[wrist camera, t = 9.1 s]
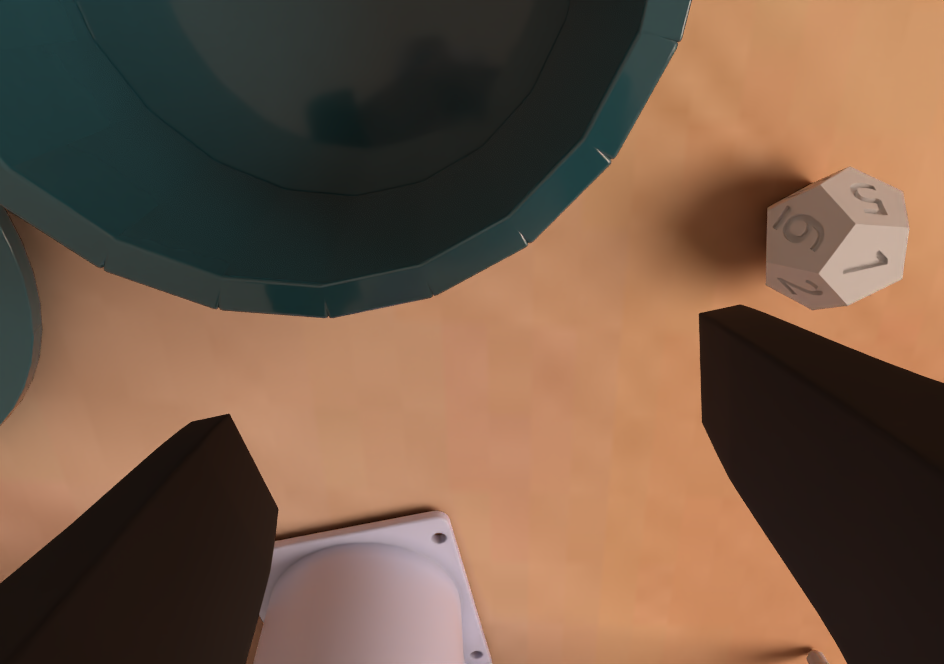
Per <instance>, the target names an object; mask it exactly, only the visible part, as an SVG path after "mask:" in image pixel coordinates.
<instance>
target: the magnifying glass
mask: <svg viewBox="0 0 944 664" xmlns="http://www.w3.org/2000/svg"><path fill="white" fill-rule="evenodd" d="M807 661H808V663H809V664H829V663H828V661H827V660H826V658H825V656H824V655H823V653H822V652H818V651H816V650H811V651H810V652H809V653H808V656H807Z"/></svg>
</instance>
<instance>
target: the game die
mask: <svg viewBox="0 0 944 664" xmlns="http://www.w3.org/2000/svg"><path fill="white" fill-rule="evenodd" d="M908 234H909V223H908V217H907V211H906V206H905V200H904V194H903V191H901V190H899V189H897V188H895V187H893V186H891V185H888V184H886V183H884V182H882V181H880V180H878V179H876V178H874V177H871V176H869V175H867V174H865V173H863V172H861V171H859V170H857V169H854V168H852V167H847V168H845V169H843V170H841V171H838V172H836V173H834V174H832V175H829V176H827V177H825V178H823V179H820V180H818V181H816V182H814V183H812V184H810V185H808V186H806V187H804V188H803V189H801V190H799V191H797V192H795V193H793V194H791V195H790V196H788V197H786V198H784V199H782V200H780V201H778V202H776V203H775V204H773V205H771V206H769V207H768V208H767V247H766V285H767V286H769V287H771V288H772V289H774V290H776V291H778V292H780V293H782V294H783V295H785V296H787V297H789V298H791V299H793V300H795V301H796V302H798V303H800V304H802V305H804V306H806V307H807V308H809V309H811V310H817V309H825V308H833V307H840V306H848V305H850V304H852V303H854V302H856V301H858V300H860V299H862V298H864V297H866V296H869V295H871V294H873V293H875V292H877V291H879V290H881V289H883V288H885V287H887V286H889V285H891V284H893V283H895V282H897V281H899V280H901V279H902V276H903V269H904V262H905V255H906V248H907V241H908Z"/></svg>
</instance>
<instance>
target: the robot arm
mask: <svg viewBox="0 0 944 664" xmlns="http://www.w3.org/2000/svg"><path fill="white" fill-rule="evenodd" d="M699 334H700V368H701V403H702V423H703V425H704V427H705V430H706V432H707V434H708V436H709V438H710V440H711V442H712V444H713V447H714V449H715V451H716V453H717V455H718V457H719V459H720V461H721V463H722V465H723V467H724V469H725V471H726V473H727V475H728V477H729V479H730V480H731V482H732V484H733V485H734V487H735V488H736V490H737V491H738V493H739V495H740V496H741V498H742V499H743V501H744V502H745V504H746V505H747V507H748V508H749V510H750V511H751V513H752V514H753V516H754V518H755V519H756V521H757V522H758V524H759V525H760V527H761V528H762V530H763V531H764V533H765V534H766V536H767V537H768V539H769V540H770V542H771V543H772V545H773V546H774V548H775V549H776V551H777V552H778V554H779V555H780V557H781V558H782V560H783V561H784V563H785V564H786V566H787V567H788V569H789V570H790V572H791V573H792V575H793V576H794V578H795V579H796V581H797V582H798V584H799V585H800V587H801V588H802V590H803V591H804V593H805V594H806V596H807V597H808V599H809V600H810V602H811V604H812V605H813V607H814V608H815V610H816V611H817V613H818V614H819V616H820V617H821V619H822V621H823V622H824V624H825V626H826V627H827V629H828V631H829V632H830V634H831V636H832V637H833V639H834V640H835V642H836V644H837V645H838V647H839V649H840V651H841V653H842V655H843V656H844V658H845V660H846V662H847V664H944V383H942V382H939V381H936V380H933V379H930V378H927V377H924V376H921V375H919V374H916V373H913V372H911V371H908V370H905V369H903V368H900V367H897V366H895V365H892V364H889V363H887V362H884V361H882V360H879V359H876V358H874V357H871V356H869V355H866V354H864V353H861V352H859V351H856V350H854V349H851V348H849V347H846V346H844V345H841V344H839V343H837V342H834V341H832V340H829V339H827V338H824V337H822V336H820V335H817V334H815V333H812V332H810V331H808V330H805V329H803V328H800V327H798V326H796V325H793V324H791V323H788V322H786V321H783V320H781V319H779V318H776V317H774V316H771V315H769V314H766V313H763V312H761V311H758V310H755V309H753V308H750V307H747V306H744V305H736V306H731V307H727V308H722V309H717V310H713V311H708V312H703V313H699ZM277 517H278V507H277V505H276V503H275V501H274V499H273V497H272V496H271V494H270V492H269V490H268V488H267V486H266V484H265V482H264V480H263V478H262V476H261V474H260V472H259V470H258V468H257V466H256V464H255V462H254V460H253V459H252V457H251V455H250V453H249V451H248V449H247V447H246V445H245V443H244V441H243V439H242V437H241V435H240V433H239V431H238V429H237V427H236V425H235V424H234V422H233V420H232V418H231V416H230V414H226V415H221V416H216V417H212V418H207V419H202V420H197V421H193V422H191V423H189V424H188V425H186V426H185V427H184V428H182V429H181V430H179V431H178V432H177V433H176V434H174V435H173V436H172V437H171V438H169V439H168V440H167V441H166V442H164V443H163V444H162V445H161V446H160V447H158V448H157V449H156V450H155V451H154V452H153V453H151V454H150V455H149V456H148V457H147V458H146V459H145V460H143V461H142V462H141V463H140V464H139V465H138V466H137V467H135V468H134V469H133V470H132V471H131V472H130V473H129V474H128V475H126V476H125V477H124V478H123V479H122V480H121V481H120V482H119V483H117V484H116V485H115V486H114V487H113V488H112V489H111V490H109V491H108V492H107V493H106V494H105V495H104V496H103V497H102V498H100V499H99V500H98V501H97V502H96V503H95V504H94V505H92V506H91V507H90V508H89V509H88V510H87V511H86V512H85V513H83V514H82V515H81V516H80V517H79V518H78V519H77V520H76V521H74V522H73V523H72V524H71V525H70V526H69V527H67V528H66V529H65V530H64V531H63V532H61V533H60V534H59V535H58V536H57V537H55V538H54V539H53V540H52V541H51V542H49V543H48V544H47V545H46V546H45V547H43V548H42V549H41V550H40V551H39V552H37V553H36V554H35V555H34V556H33V557H32V558H30V559H29V560H28V561H27V562H26V563H24V564H23V565H22V566H21V567H20V568H18V569H17V570H16V571H15V572H14V573H12V574H11V575H10V576H9V577H8V578H6V579H5V580H4V581H3V582H2V583H0V664H246V660H247V657H248V653H249V649H250V646H251V642H252V639H253V635H254V631H255V628H256V624H257V620H258V617H259V616H260V618H261V620H262V621H263V623H264V624H263V627H262V631H261V635H260V639H259V643H258V646H257V650H256V654H255V658H254V662H253V664H492V658H491V655H490V652H489V648H488V645H487V642H486V639H485V635H484V632H483V629H482V625H481V622H480V619H479V615H478V612H477V609H476V605H475V602H474V599H473V595H472V592H471V589H470V585H469V582H468V579H467V575H466V572H465V569H464V565H463V562H462V559H461V555H460V552H459V549H458V545H457V542H456V539H455V535H454V532H453V529H452V525H451V522H450V519H449V517H448V515H447V514H445V513H444V512H441V511H430V512H425V513H419V514H414V515H409V516H404V517H399V518H393V519H388V520H383V521H378V522H372V523H367V524H362V525H357V526H352V527H346V528H341V529H336V530H331V531H325V532H320V533H315V534H310V535H305V536H299V537H294V538H289V539H284V540H278V541H275V535H276V526H277ZM436 533H442V534H441V535H436Z"/></svg>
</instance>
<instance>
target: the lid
mask: <svg viewBox="0 0 944 664" xmlns="http://www.w3.org/2000/svg"><path fill="white" fill-rule="evenodd" d="M41 339H42V317H41V303H40V298H39V294H38V289H37V285H36V281H35V276H34V272H33V269H32V267H31V264H30V261H29V259H28V256H27V253H26V251H25V248H24V246H23V243H22V240H21V238H20V236H19V235H18V233H17V231H16V229H15V227H14V225H13V223H12V221H11V219H10V217H9V216H8V214H7V212H6V210H5V208H4V207H2V206H1V205H0V425H1V424H2V423H3V422H4V421H5V420H6V419H7V418H8V417H9V416H10V415H11V414H12V412H13V411H14V410H15V409H16V407H17V406H18V405H19V403H20V402H21V401H22V400H23V398H24V396H25V394H26V392H27V390H28V388H29V386H30V384H31V382H32V380H33V378H34V374H35V371H36V367H37V364H38V361H39V357H40V349H41Z"/></svg>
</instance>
